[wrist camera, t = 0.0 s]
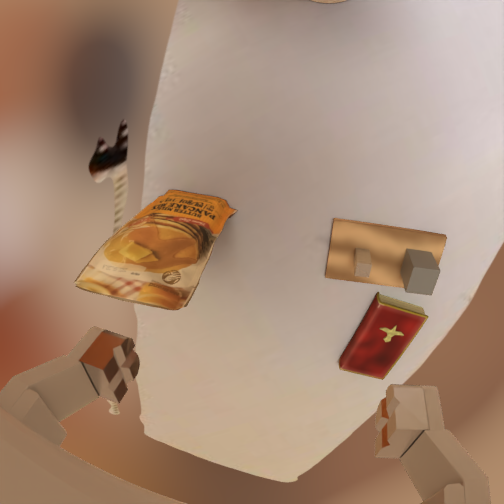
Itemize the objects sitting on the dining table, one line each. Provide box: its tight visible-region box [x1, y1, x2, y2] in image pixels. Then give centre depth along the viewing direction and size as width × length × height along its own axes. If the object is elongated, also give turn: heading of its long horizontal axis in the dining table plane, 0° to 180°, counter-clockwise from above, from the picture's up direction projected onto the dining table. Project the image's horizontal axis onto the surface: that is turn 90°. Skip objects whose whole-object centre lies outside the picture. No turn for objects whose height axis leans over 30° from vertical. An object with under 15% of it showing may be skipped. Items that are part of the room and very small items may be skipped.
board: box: [325, 218, 447, 288], centre depth 57 cm, size 12×22×1 cm, turn 89°
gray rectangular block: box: [400, 248, 440, 295], centre depth 52 cm, size 5×5×7 cm
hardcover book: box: [339, 292, 428, 380], centre depth 65 cm, size 12×21×4 cm, turn 168°
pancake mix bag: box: [74, 190, 238, 310], centre depth 50 cm, size 7×19×28 cm, turn 84°
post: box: [353, 248, 372, 278], centre depth 55 cm, size 3×3×6 cm
